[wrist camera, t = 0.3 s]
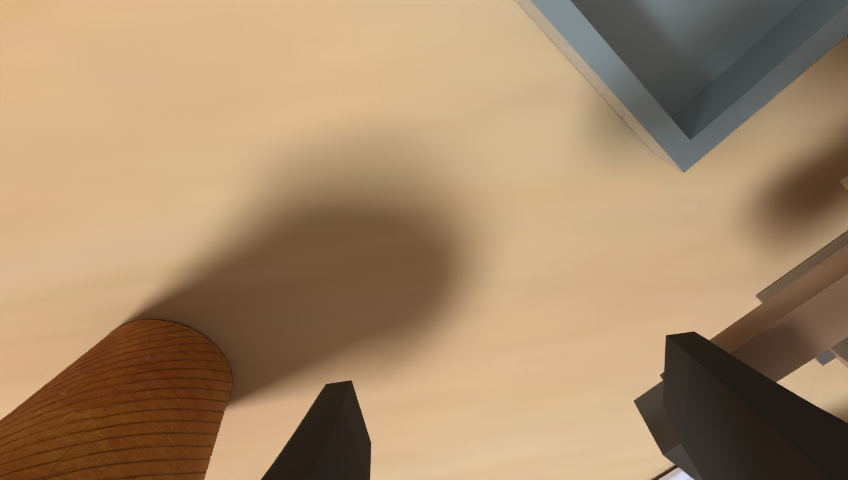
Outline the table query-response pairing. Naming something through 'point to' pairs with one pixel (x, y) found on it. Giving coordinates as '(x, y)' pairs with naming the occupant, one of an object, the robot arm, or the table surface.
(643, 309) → the table surface
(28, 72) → the table surface
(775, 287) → the chute stand
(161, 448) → the disposable coffee cup
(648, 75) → the tray
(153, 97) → the table surface
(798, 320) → the chute
